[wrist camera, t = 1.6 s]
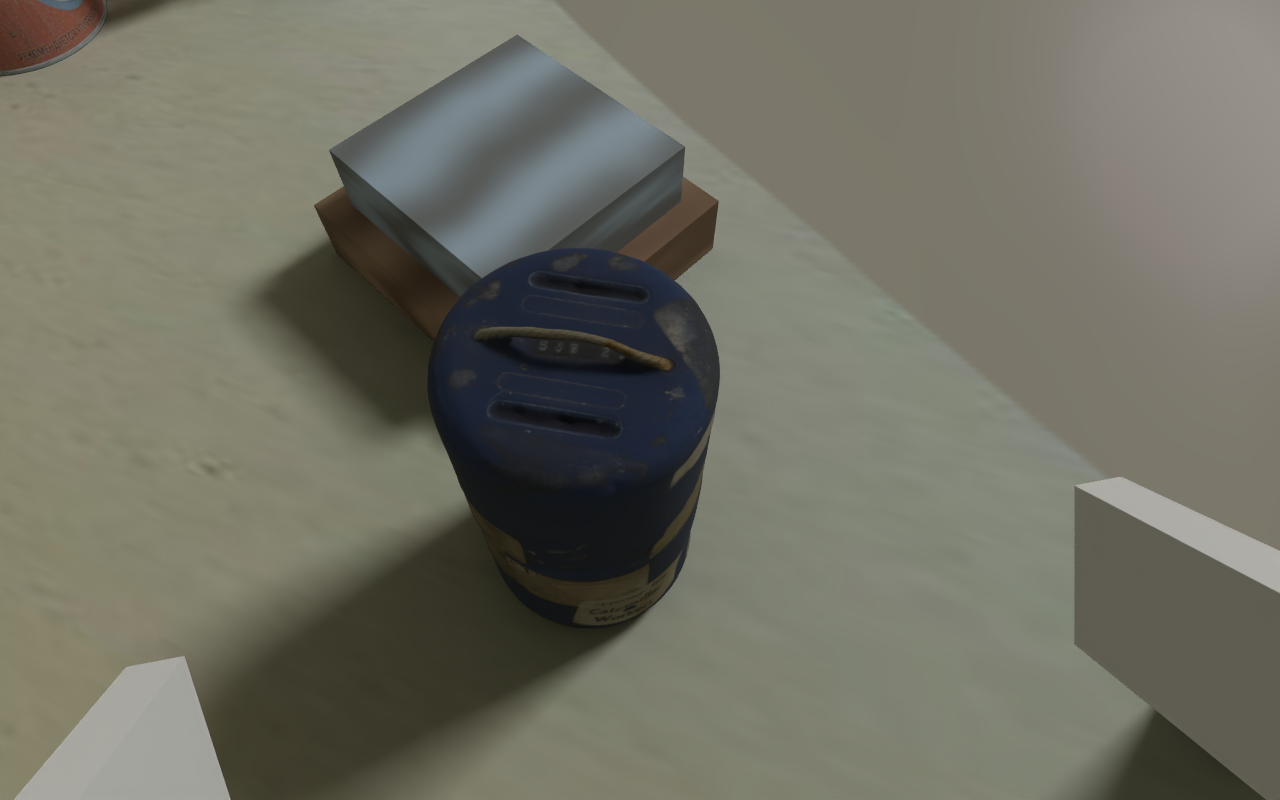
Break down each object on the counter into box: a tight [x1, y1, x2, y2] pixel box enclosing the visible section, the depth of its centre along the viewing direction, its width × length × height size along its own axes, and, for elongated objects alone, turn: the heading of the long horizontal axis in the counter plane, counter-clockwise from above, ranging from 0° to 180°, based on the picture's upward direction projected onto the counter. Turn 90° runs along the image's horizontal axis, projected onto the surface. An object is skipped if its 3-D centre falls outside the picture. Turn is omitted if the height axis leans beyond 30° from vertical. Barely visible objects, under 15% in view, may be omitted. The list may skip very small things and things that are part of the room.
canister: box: [427, 248, 720, 628], centre depth 32 cm, size 10×10×18 cm
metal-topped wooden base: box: [314, 35, 719, 341], centre depth 46 cm, size 16×16×8 cm
